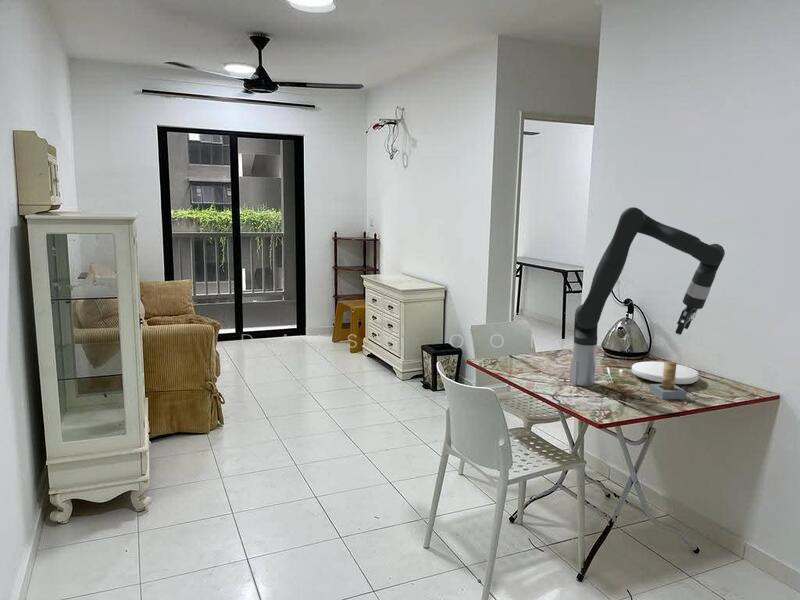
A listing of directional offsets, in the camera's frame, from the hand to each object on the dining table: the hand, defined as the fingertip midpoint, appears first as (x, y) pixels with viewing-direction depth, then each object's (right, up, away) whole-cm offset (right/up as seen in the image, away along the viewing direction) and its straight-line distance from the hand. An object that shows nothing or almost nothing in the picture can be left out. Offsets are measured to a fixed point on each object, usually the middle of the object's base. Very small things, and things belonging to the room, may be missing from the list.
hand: (681, 330), depth 230 cm
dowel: (-6, -25, -1) cm, 26 cm away
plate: (+3, -22, +21) cm, 30 cm away
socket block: (-6, -25, -1) cm, 26 cm away
